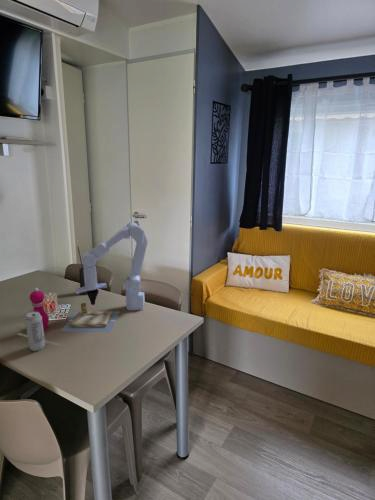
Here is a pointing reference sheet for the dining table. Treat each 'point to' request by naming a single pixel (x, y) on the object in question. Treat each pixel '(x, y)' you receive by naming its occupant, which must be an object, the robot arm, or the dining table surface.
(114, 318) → the board
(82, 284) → the butter churn
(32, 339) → the energy drink can
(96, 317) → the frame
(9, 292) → the dining table surface
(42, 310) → the pepper mill
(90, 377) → the dining table surface
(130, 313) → the dining table surface
